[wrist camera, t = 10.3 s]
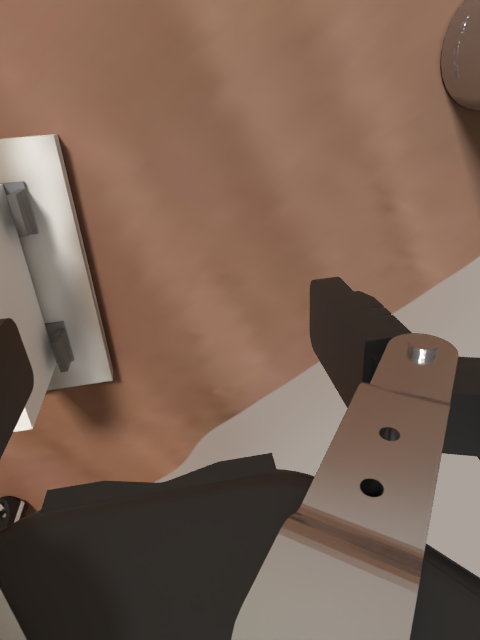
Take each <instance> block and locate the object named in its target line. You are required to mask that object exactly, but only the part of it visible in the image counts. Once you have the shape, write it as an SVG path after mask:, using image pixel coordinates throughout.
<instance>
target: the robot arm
mask: <svg viewBox="0 0 480 640" xmlns="http://www.w3.org/2000/svg"><path fill="white" fill-rule="evenodd" d="M441 70H442V78H443V81H444V84H445V87H446V89H447V91H448V92H449V94H450V96H451V97H452V98H453V99H454V100H455V101H456V102H457V103H458V104H459V105H461V106H463V107H465V108H468V109H473V110H480V0H466V1H465V2H464V3H463V4H462V6H461V7H460V8H459V9H458V11H457V12H456V14H455V16H454V18H453V19H452V21H451V23H450V25H449V28H448V30H447V33H446V35H445V38H444V43H443V48H442V54H441ZM310 338H311V343H312V347H313V350H314V352H315V354H316V355H317V357H318V359H319V360H320V362H321V364H322V365H323V367H324V369H325V371H326V372H327V374H328V376H329V377H330V379H331V381H332V382H333V384H334V386H335V388H336V389H337V391H338V392H339V394H340V396H341V398H342V399H343V401H344V403H345V404H346V406H347V408H348V409H347V411H346V413H345V415H344V417H343V419H342V421H341V423H340V425H339V428H338V430H337V432H336V434H335V436H334V438H333V440H332V442H331V444H330V446H329V448H328V451H327V452H326V454H325V457H324V459H323V461H322V463H321V465H320V467H319V469H318V471H317V473H316V475H315V477H314V476H311V475H308V474H304V473H300V472H296V471H289V470H278V469H276V466H275V463H274V459H273V456H272V453H269V454H263V455H257V456H251V457H245V458H239V459H233V460H227V461H221V462H217V463H214V464H212V465H209V466H206V467H204V468H201V469H198V470H196V471H193V472H190V473H188V474H185V475H182V476H180V477H177V478H175V479H172V480H169V481H166V482H162V483H147V482H122V481H100V482H94V483H88V484H82V485H76V486H70V487H64V488H58V489H52V490H47V493H46V496H45V499H44V503H43V506H42V509H41V510H40V511H37V512H35V513H32V514H30V515H28V516H26V517H24V518H22V519H20V520H18V521H16V522H14V523H13V524H11V525H9V526H7V527H6V528H4V529H3V530H1V531H0V640H480V578H479V577H478V576H476V575H474V574H473V573H471V572H470V571H468V570H467V569H465V568H463V567H462V566H460V565H459V564H457V563H456V562H454V561H452V560H451V559H449V558H448V557H446V556H445V555H443V554H442V553H440V552H438V551H437V550H435V549H434V548H432V547H431V546H429V545H428V544H426V540H427V534H428V529H429V523H430V517H431V512H432V506H433V500H434V494H435V488H436V483H437V477H438V472H439V466H440V460H441V454H442V453H447V454H457V455H469V456H477V457H478V458H479V460H480V358H470V357H469V358H468V357H458V351H457V349H456V348H455V347H454V346H453V345H452V344H451V343H449V342H448V341H445V340H444V339H441V338H439V337H436V336H432V335H427V334H419V333H411V332H410V331H409V330H408V329H407V328H406V327H405V326H404V325H403V324H402V323H400V321H399V320H397V318H395V317H394V316H393V315H391V313H390V312H389V311H388V310H387V309H386V308H384V306H383V305H382V304H381V303H380V302H379V301H377V300H376V299H375V298H374V297H372V296H370V295H367V294H365V293H363V292H360V291H355V292H354V291H353V290H352V289H351V288H350V287H349V286H348V285H347V284H346V283H345V282H344V281H343V280H342V279H341V278H340V277H332V278H324V279H317V280H312V282H311V285H310ZM33 386H34V375H33V370H32V367H31V364H30V361H29V358H28V355H27V353H26V350H25V347H24V344H23V341H22V339H21V336H20V333H19V330H18V328H17V325H16V323H15V322H14V321H13V320H12V319H11V318H4V319H0V458H1V456H2V454H3V452H4V450H5V448H6V446H7V444H8V441H9V439H10V437H11V435H12V433H13V431H14V429H15V427H16V425H17V422H18V420H19V418H20V416H21V414H22V412H23V410H24V408H25V406H26V403H27V401H28V399H29V397H30V395H31V393H32V390H33Z"/></svg>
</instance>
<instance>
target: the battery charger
mask: <svg viewBox="0 0 480 640" xmlns="http://www.w3.org/2000/svg"><path fill="white" fill-rule="evenodd" d="M27 508H28V505H27V504H25V502H23V501H19V500H18V499H15V498H12V497H7V496H6V497H1V498H0V531H1V530H3V529H4V528H6V527H7V526H9V525H11V524H13V523H14V522H16V521H18V520H20V519H22V518H24V517H25V514H26V511H27Z"/></svg>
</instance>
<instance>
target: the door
mask: <svg viewBox="0 0 480 640" xmlns="http://www.w3.org/2000/svg"><path fill="white" fill-rule="evenodd" d="M4 318H11V319H12V320H13V321H14V322H15V323H16V325H17V328H18V330H19V333H20V336H21V339H22V341H23V344H24V347H25V350H26V353H27V355H28V358H29V361H30V364H31V367H32V370H33V375H34V386H33V390H32V393H31V395H30V397H29V399H28V401H27V403H26V406H25V408H24V410H23V412H22V414H21V416H20V418H19V420H18V422H17V425H16V427H15V429H14V431H13V432H17V431H23V430H29V429H33V427H34V424H35V421H36V419H37V416H38V413H39V410H40V408H41V405H42V402H43V399H44V397H45V394H46V391H47V388H48V386H49V383H50V380H51V378H52V375H53V372H54V369H55V367H56V360H55V357H54V354H53V350H52V347H51V344H50V340H49V337H48V334H47V330H46V327H45V324H44V320H43V317H42V314H41V310H40V307H39V304H38V300H37V297H36V294H35V290H34V287H33V284H32V280H31V277H30V274H29V270H28V267H27V264H26V260H25V257H24V254H23V250H22V247H21V244H20V240H19V237H18V234H17V230H16V227H15V224H14V220H13V217H12V213H11V210H10V207H9V203H8V200H7V197H6V193H5V190H4V187H3V184H0V319H4Z"/></svg>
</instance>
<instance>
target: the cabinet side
mask: <svg viewBox="0 0 480 640" xmlns="http://www.w3.org/2000/svg"><path fill="white" fill-rule="evenodd" d="M0 184H3V187H4V190H5V193H6V197H7V200H8V203H9V207H10V210H11V213H12V217H13V220H14V224H15V227H16V230H17V234H18V237H19V240H20V244H21V247H22V250H23V254H24V257H25V260H26V264H27V267H28V270H29V274H30V277H31V280H32V284H33V287H34V290H35V294H36V297H37V300H38V304H39V307H40V310H41V314H42V317H43V320H44V324H45V327H46V330H47V334H48V337H49V340H50V344H51V347H52V350H53V354H54V357H55V360H56V367H55V369H54V372H53V375H52V378H51V380H50V383H49V386H48V388H47V391H48V390H54V389H61V388H67V387H74V386H80V385H87V384H93V383H100V382H106V381H113V374H114V371H113V367H112V363H111V358H110V354H109V350H108V346H107V341H106V337H105V333H104V329H103V324H102V320H101V316H100V312H99V307H98V303H97V299H96V295H95V291H94V286H93V282H92V278H91V274H90V269H89V265H88V261H87V257H86V252H85V248H84V244H83V240H82V235H81V231H80V227H79V223H78V219H77V214H76V210H75V206H74V202H73V197H72V193H71V189H70V185H69V180H68V176H67V172H66V168H65V164H64V159H63V155H62V151H61V147H60V142H59V138H58V134H53V135H40V136H26V137H13V138H0Z"/></svg>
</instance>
